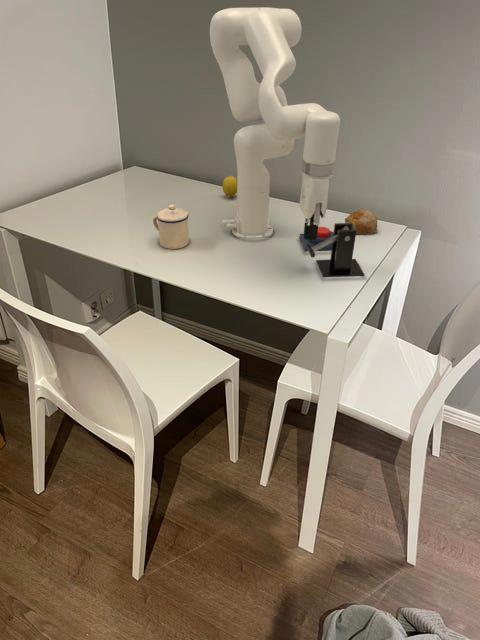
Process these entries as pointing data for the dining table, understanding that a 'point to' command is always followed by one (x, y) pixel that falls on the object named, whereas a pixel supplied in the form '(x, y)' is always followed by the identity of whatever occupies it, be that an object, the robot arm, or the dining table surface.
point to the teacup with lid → (172, 227)
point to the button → (323, 232)
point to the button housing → (316, 242)
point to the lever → (323, 243)
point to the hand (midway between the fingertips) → (310, 237)
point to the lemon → (230, 186)
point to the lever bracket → (341, 255)
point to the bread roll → (362, 222)
